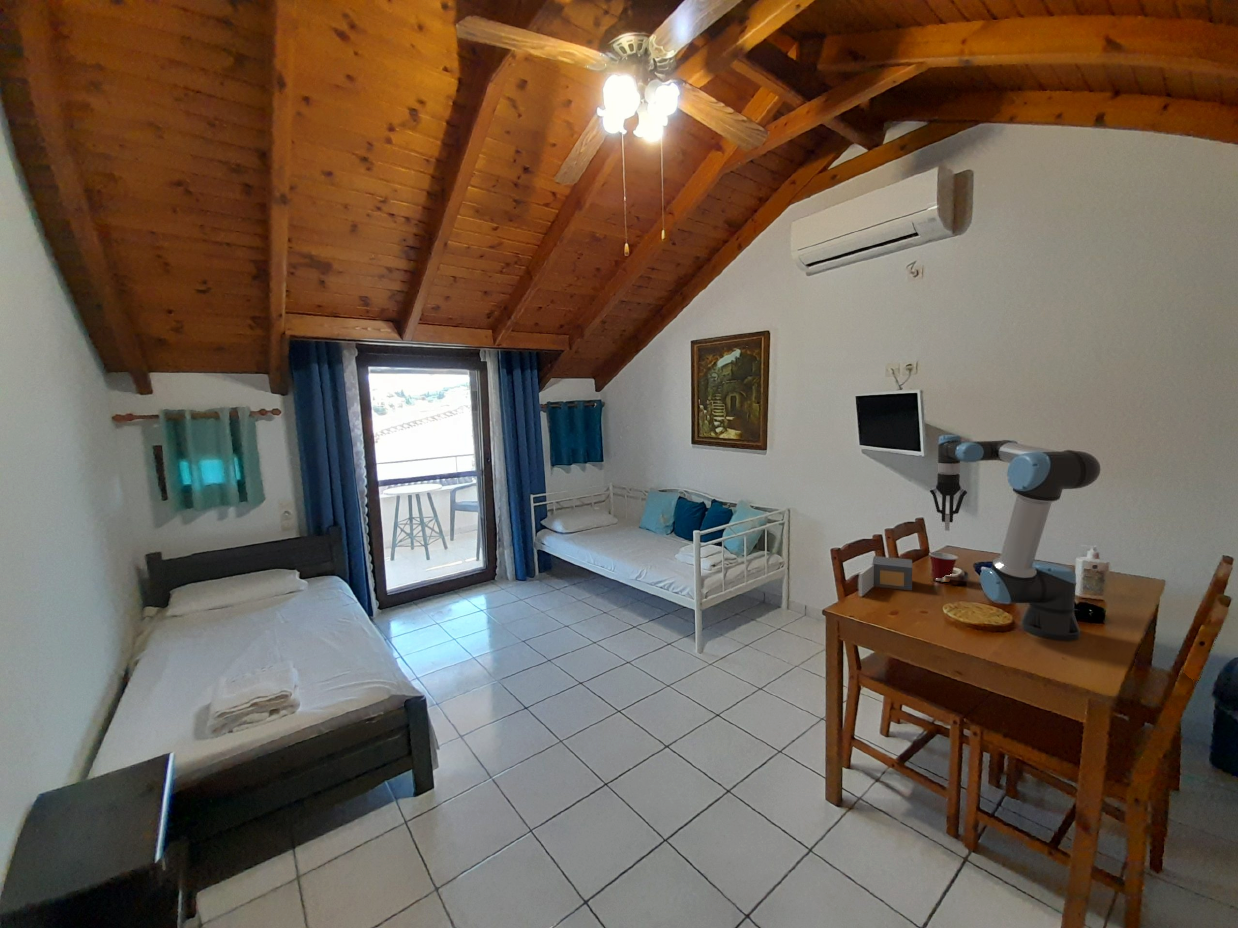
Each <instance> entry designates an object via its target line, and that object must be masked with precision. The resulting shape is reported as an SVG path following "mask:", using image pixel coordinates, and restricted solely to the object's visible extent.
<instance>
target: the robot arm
mask: <svg viewBox="0 0 1238 928" xmlns="http://www.w3.org/2000/svg"><path fill="white" fill-rule="evenodd" d="M937 460H938V461H937V472H938V473H937V481H936V484H935V487H933V488H930V489H929V493H930V494H931V495H932V499H933V502H934V505H935V506H934V507H935V508H936V509H935V510H936V512H937V513H938V514H941V522H942V523H944V528H943V530H944V531H948V532H949V531H950V523H953V521H954V515H958V514H959V512H960V510H961V507H962V504H963V500H964V497H965V496H966V495H967V494H968V491H967V490H966V489H963V488H962V486H961V485H960V477H961V476H960V474H959V473H960V471H961V462H964V463H976V462H983V461H984V462H986V461H1000V462H1004V463H1009V465H1008V467H1007V470H1006V471H1007V472H1006V476H1007V477H1008V478H1007V481H1008V483H1009V486H1010V487H1012V492H1014V494H1015V495H1016V497H1015V498H1016V499H1015V501H1014V505H1013V510H1012V513H1011V517H1010V518H1009V519H1010V520H1009V523H1008V527H1007V530H1006V534H1005V538H1004V541H1003V545H1002V548H1001V549H1002V550H1001V553H1000V556H999V557H998V556H997V557H996V558H994V559H993V561H992V565H991V567H987V568H984V569H982V570H981V572H980V575H979V581H980V585H981V588H982V590H983V592H984V594H985V595H986V597H987V598H988V599H989V600H990V601H992V602H993V603H996V604H1005V605H1009V604H1028V606H1027V607H1026V610H1025V612H1024V614H1023V615H1022V616H1021V621H1020V626H1021V628H1022V629H1023V630H1024V631H1026V632H1027V633H1029V634H1031V635H1034V636H1038V637H1039V638H1044V639H1049V640H1051V641H1059V642H1060V641H1061V642H1075V641H1078V640H1079V639H1080V638H1081V628H1080V626H1079V623H1078V622H1077V619H1076V615H1075V601H1076V599H1075V598H1076V588H1077V580H1076V579H1077V578H1076V577H1077V575H1076V573H1075V571H1074V570H1072V569H1071V568H1069V567H1066V566H1064V565H1060V564H1056V563H1053V562H1052V563H1050V562H1046V561H1038V560H1037V561H1035V558H1036V555H1037V552H1038V549H1039V545H1040V543H1041V539H1042V536H1043V532H1044V529H1045V526H1046V524H1047V523H1046V522H1047V519H1048V516H1049V512H1050V509H1051V506H1052V503H1054V502H1055V503H1056V502H1057V501H1059V500H1060V499H1061V495H1062V493H1063V490H1075V489H1076V490H1077V489H1082V488H1085V487H1088V486H1090V485H1092V484H1093V483H1094V482H1096V480H1098V478H1099V476H1100V474H1101V465H1100V461H1099V460H1098V459H1097V457H1095V456H1093V455H1092V454H1090V453H1088V452H1086V451H1079V450H1071V449H1066V450H1062V451H1059V450H1055V449H1050V448H1043V447H1038V446H1032V445H1026V444H1022V443H1018V441H1016V440H1009V439H1003V440H1002V439H1001V440H982V441H981V440H979V441H962V436H960V435H959V434H958V435H957V434H944V435H943V434H942V435H940V436H939V437H938V444H937ZM937 492H939V494H940V495H941V509H940V504H939V501H938V497H937ZM957 493H959V495H958V500H957V503H956V506H955V508H954V503H955V502H954V500H955V496H956V494H957ZM947 496H949V500H948V501H949V502H948V503H949V504H948V505H949V508H948V512H949V513H946V512H947V508H946V507H947Z"/></svg>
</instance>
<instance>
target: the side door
mask: <svg viewBox="0 0 1238 928" xmlns="http://www.w3.org/2000/svg"><path fill="white" fill-rule="evenodd" d="M874 587H875V586H874V564H872V563H870V564H869V565H868V566H867V567H865V568H864V569H863V570H862V571H860V572H859V573H858V579H857V590H858V597H860V598H861V597H863V596H864V595H865V594H867V593H868V592H869V591H870V590H871V589H873V588H874Z"/></svg>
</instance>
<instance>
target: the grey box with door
mask: <svg viewBox="0 0 1238 928" xmlns="http://www.w3.org/2000/svg"><path fill="white" fill-rule="evenodd" d="M871 564H874V586H873V587H877V586H880V587H879V588H888V589H894V590H902V591H903V590H904V591H911V592H912V591H913V559H908V558H899V557H898V558H897V557H888V556H887V557H886V556H879V555H878V556H876V555H873V557H872V563H871Z"/></svg>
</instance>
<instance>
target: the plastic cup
mask: <svg viewBox="0 0 1238 928" xmlns="http://www.w3.org/2000/svg"><path fill="white" fill-rule="evenodd" d="M928 555H929V558H930V561H931V570H932V575H933V579H936V578H942V577H944V576H945V575H950V574H952V575H953V572H954V571H953V570H954V568H955V564H956V562H957V560H958V559H959V557H958V556H957V555H955V554H951V553H946V552H938V551H931V552H929V553H928Z"/></svg>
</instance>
